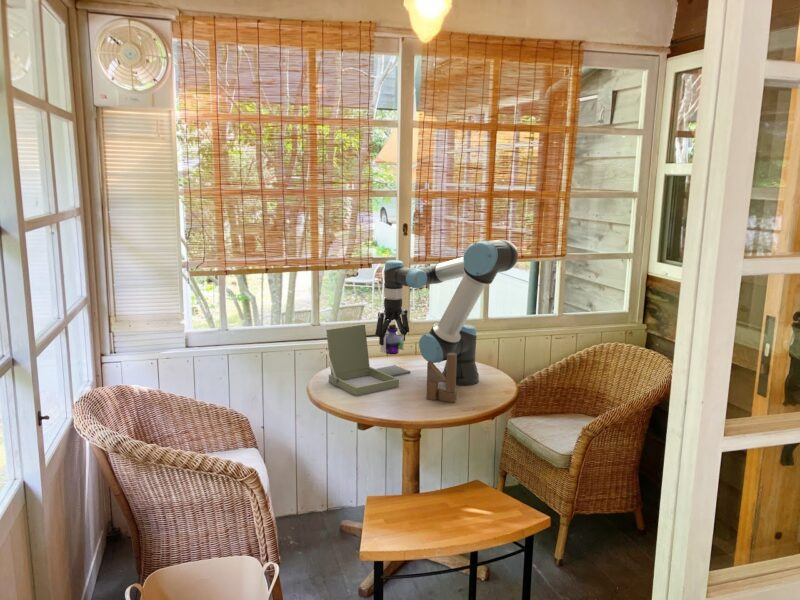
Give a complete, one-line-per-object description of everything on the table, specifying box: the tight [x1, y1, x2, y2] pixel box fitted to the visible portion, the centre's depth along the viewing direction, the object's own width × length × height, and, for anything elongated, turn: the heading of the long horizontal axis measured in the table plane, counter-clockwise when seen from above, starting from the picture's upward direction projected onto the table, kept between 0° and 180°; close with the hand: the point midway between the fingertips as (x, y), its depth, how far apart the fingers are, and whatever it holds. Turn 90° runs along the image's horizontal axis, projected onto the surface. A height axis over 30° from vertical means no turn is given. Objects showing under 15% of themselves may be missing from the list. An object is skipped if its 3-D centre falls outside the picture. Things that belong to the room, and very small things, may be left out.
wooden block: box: [426, 353, 458, 404], centre depth 230 cm, size 4×11×18 cm, turn 71°
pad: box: [376, 364, 411, 377], centre depth 265 cm, size 11×11×1 cm
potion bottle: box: [384, 324, 402, 355], centre depth 262 cm, size 9×9×12 cm
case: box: [324, 324, 400, 397], centre depth 247 cm, size 24×21×21 cm
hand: (392, 350), depth 263 cm, fingers closed on potion bottle, 9 cm apart
